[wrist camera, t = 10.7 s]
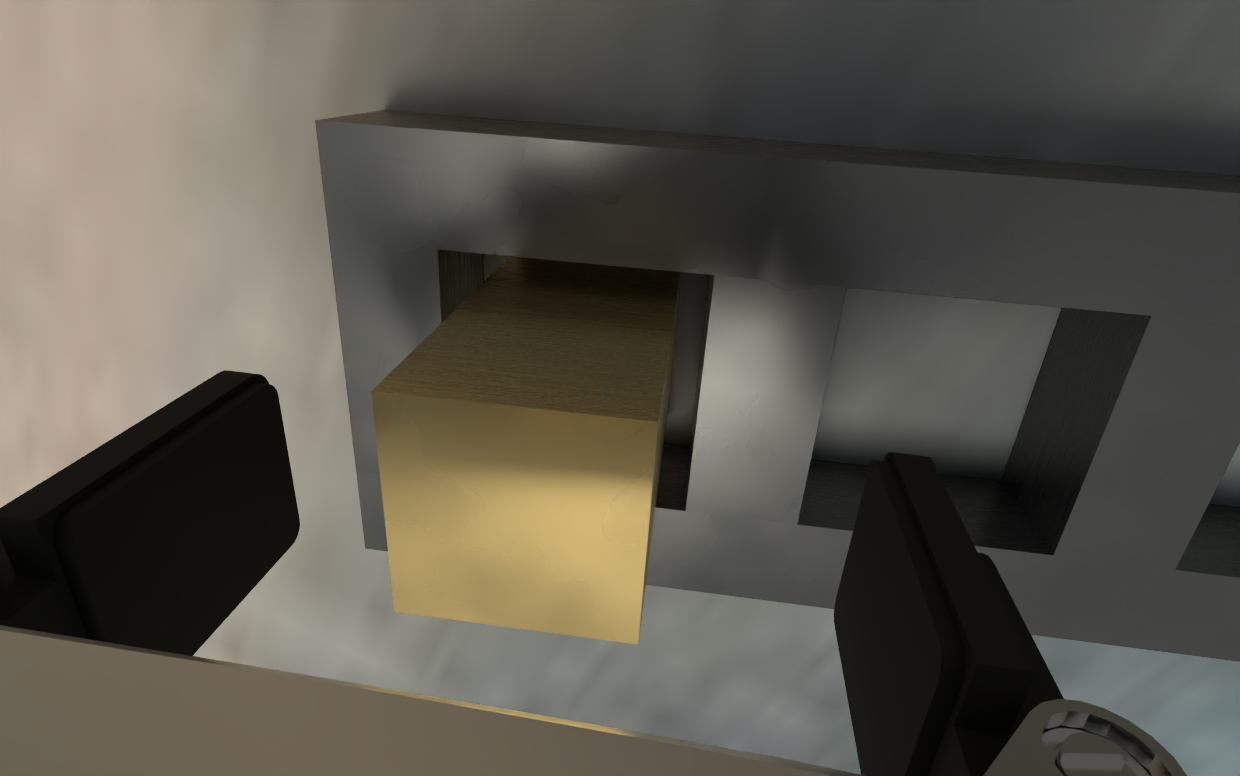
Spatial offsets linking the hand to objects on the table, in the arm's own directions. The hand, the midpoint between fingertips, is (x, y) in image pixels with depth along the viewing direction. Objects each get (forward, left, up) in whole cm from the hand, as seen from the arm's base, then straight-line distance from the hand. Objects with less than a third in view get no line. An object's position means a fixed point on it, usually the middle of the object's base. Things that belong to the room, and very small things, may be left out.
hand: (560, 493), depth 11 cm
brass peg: (+1, 0, -7) cm, 7 cm away
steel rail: (-7, 0, -7) cm, 10 cm away
